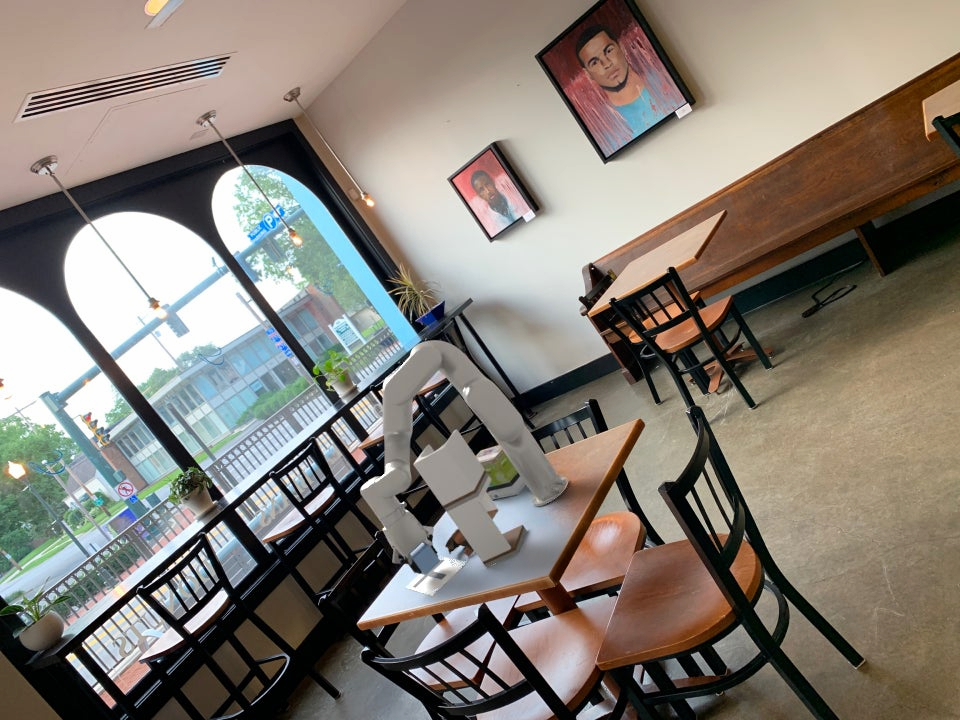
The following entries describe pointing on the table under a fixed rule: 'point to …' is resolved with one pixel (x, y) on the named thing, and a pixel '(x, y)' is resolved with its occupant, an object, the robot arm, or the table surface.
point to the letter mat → (435, 577)
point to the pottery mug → (458, 543)
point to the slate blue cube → (425, 558)
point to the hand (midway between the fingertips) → (427, 564)
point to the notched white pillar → (468, 498)
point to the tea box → (500, 473)
